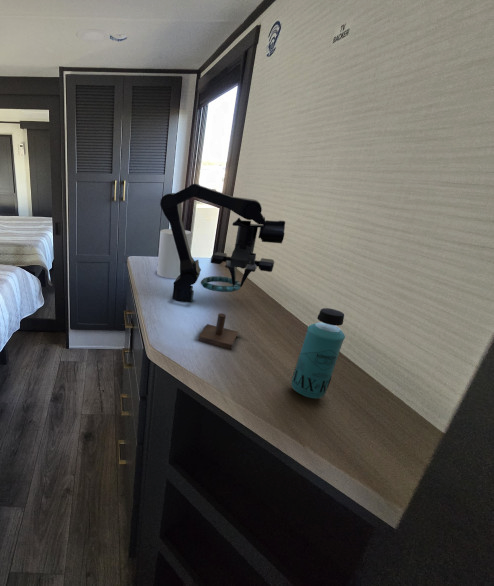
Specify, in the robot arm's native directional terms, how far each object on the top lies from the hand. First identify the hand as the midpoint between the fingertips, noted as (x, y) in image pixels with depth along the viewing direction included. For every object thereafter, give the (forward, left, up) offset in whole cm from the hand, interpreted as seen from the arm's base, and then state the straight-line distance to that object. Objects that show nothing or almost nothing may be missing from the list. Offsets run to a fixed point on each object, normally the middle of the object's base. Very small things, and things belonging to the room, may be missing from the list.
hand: (237, 285), depth 106 cm
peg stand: (0, -24, -9) cm, 25 cm away
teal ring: (-6, 0, 0) cm, 6 cm away
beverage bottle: (+22, -39, -9) cm, 46 cm away
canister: (-33, +27, -9) cm, 44 cm away
